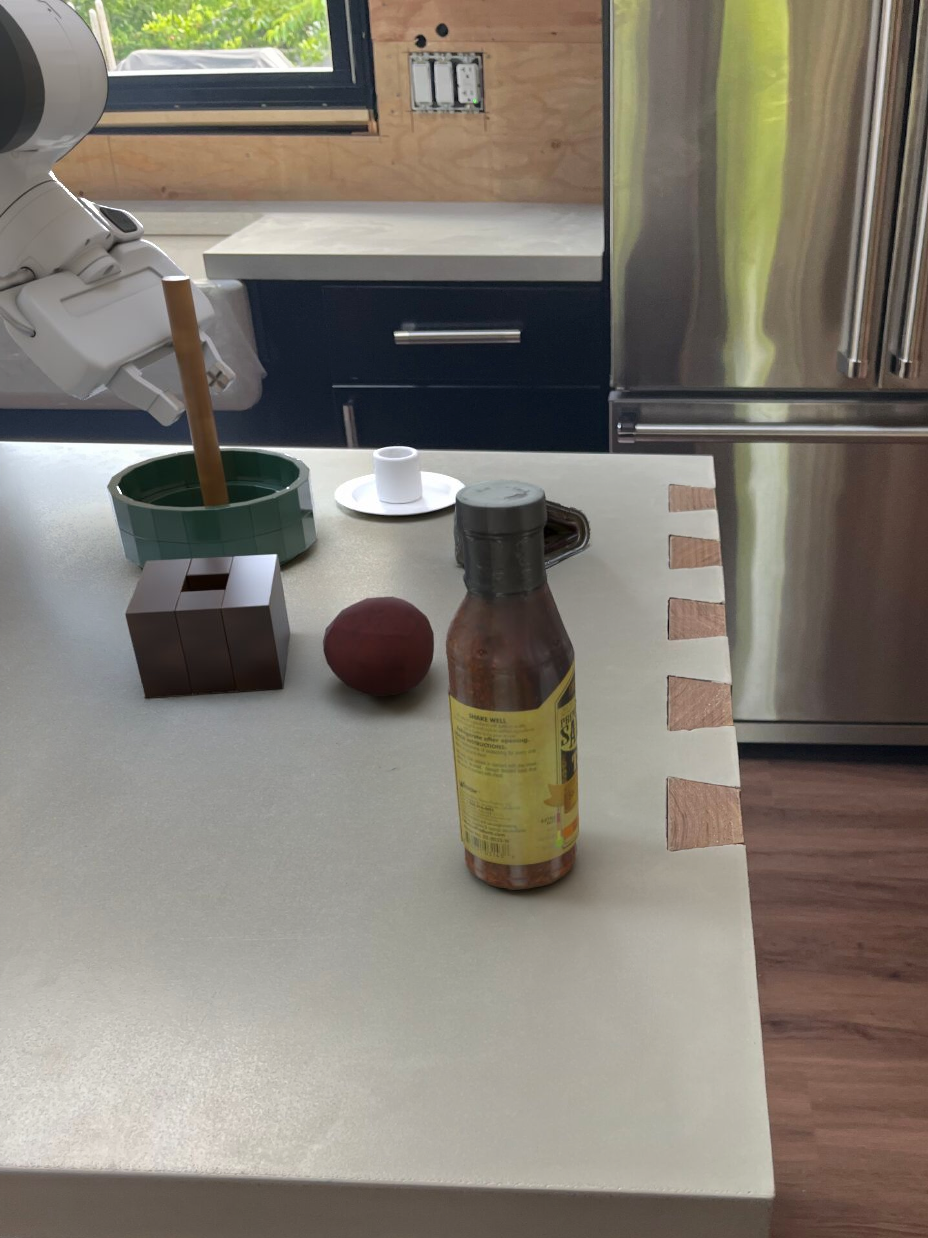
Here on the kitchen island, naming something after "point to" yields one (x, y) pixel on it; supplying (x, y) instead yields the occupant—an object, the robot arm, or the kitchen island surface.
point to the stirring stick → (195, 388)
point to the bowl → (214, 508)
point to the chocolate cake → (551, 534)
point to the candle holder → (398, 486)
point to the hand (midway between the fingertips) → (204, 401)
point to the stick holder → (209, 625)
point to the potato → (380, 646)
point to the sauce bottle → (511, 694)
